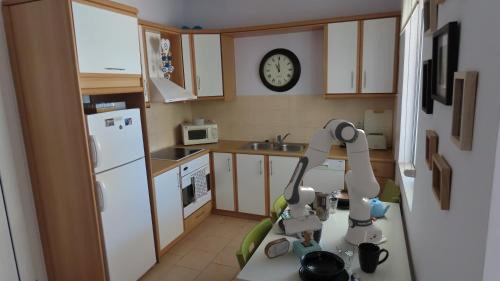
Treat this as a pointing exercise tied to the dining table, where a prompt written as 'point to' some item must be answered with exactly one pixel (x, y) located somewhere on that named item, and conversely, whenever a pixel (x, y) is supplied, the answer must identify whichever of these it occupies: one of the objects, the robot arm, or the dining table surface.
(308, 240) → the walnut dowel
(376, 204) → the teapot
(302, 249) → the teal square-hole block
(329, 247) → the dining table surface
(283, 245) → the tin
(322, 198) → the coffee box
